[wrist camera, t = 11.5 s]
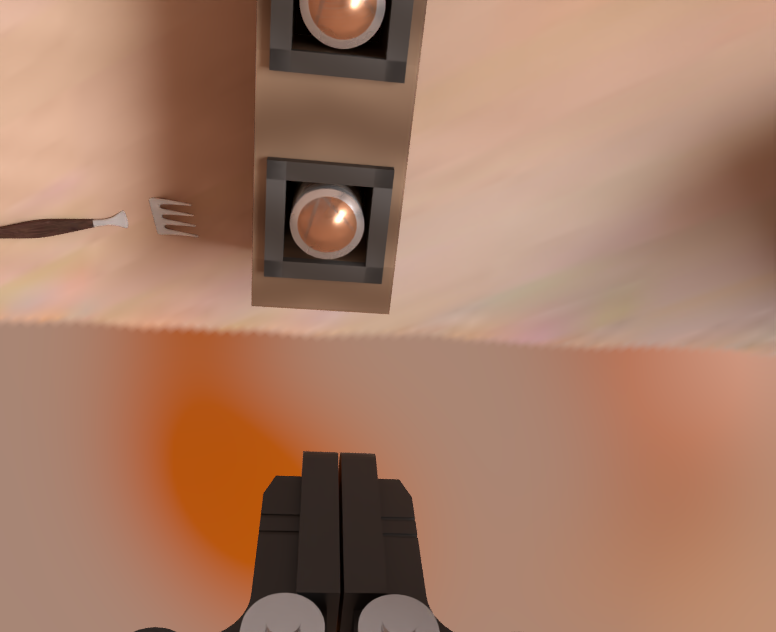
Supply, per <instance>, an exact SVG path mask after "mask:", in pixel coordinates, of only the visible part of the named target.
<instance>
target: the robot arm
mask: <svg viewBox="0 0 776 632" xmlns="http://www.w3.org/2000/svg"><path fill="white" fill-rule="evenodd" d="M135 632H175V631H172V630H170V629H166V628H158V627H153V628H145V629H141V630H138V631H135ZM222 632H452V631H451V630H449V629H448V628H447V627H445V626H444V625H443V624H442V623H440V622H439V620H438V619H437V618H436V617H435V616H434V614H433V613H432V611H431V609H430V607H429V605H428V602H427V597H426V591H425V585H424V578H423V570H422V564H421V557H420V550H419V544H418V538H417V530H416V523H415V517H414V510H413V503H412V497H411V496H410V494H409V493H408V491H407V490H406V489H405V487H404V486H403V484H402V483H401V481H400V480H395V479H378V477H377V467H376V456H375V454H366V453H340V459H339V469H338V453H335V452H308V451H306V452H305V451H303V465H302V477H300V476H276V477H275V478H274V479H273V481H272V482H271V484H270V485H269V486H268V488H267V489H266V491H265V492H264V494H263V503H262V510H261V520H260V527H259V536H258V544H257V552H256V560H255V568H254V577H253V585H252V593H251V599H250V602H249V605H248V607H247V609H246V611H245V612H244V614H243V615H242V616H241V617H240V618H239V620H237V621H236V622H235V623H234V624H233V625H232V626H230V627H229V628H227V629H226V630H224V631H222Z"/></svg>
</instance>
